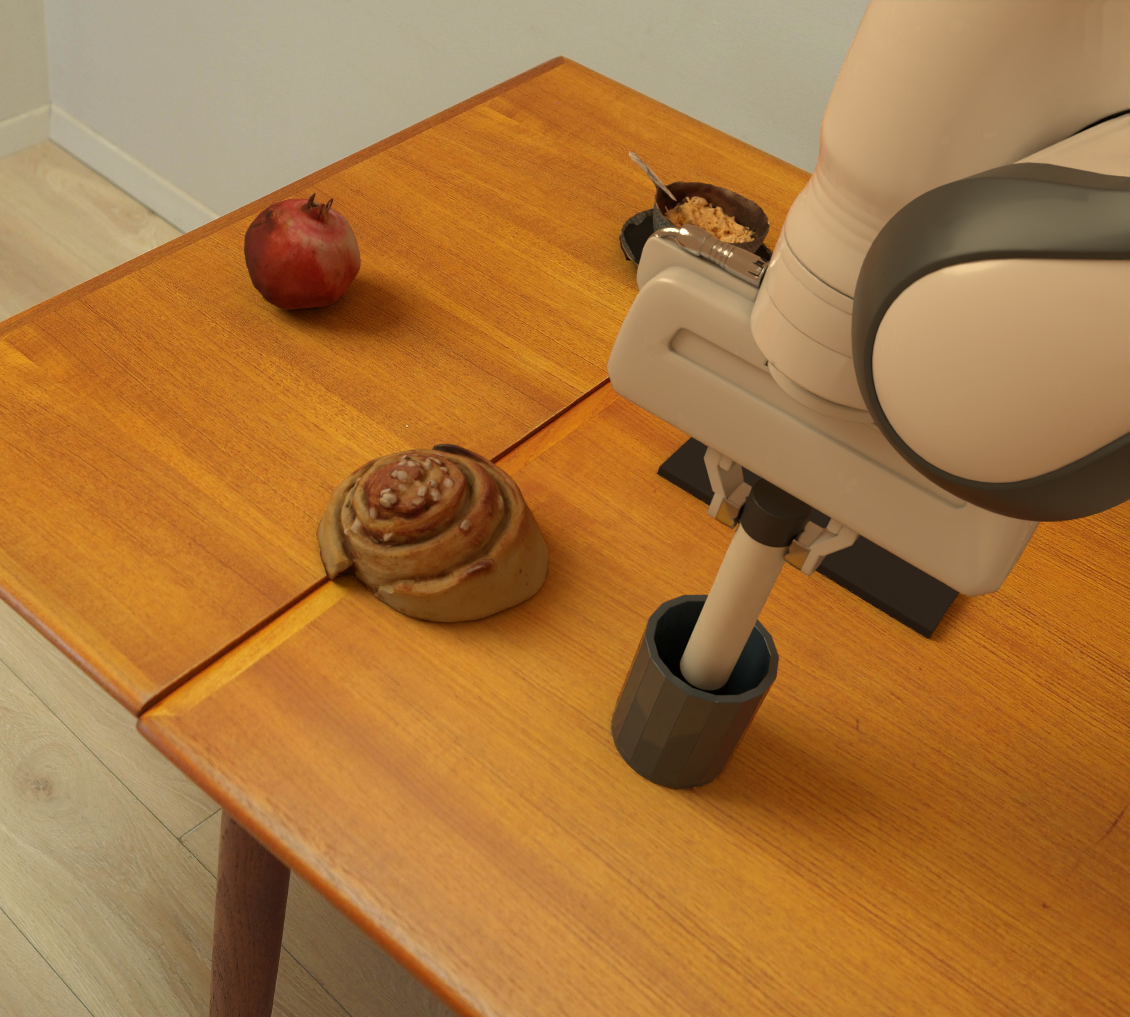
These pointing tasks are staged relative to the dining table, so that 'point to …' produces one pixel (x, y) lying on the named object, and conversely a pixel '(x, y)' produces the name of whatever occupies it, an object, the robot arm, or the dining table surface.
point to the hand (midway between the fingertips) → (764, 539)
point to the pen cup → (687, 701)
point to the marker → (743, 583)
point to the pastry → (435, 535)
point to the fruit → (301, 254)
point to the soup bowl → (697, 216)
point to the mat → (840, 554)
